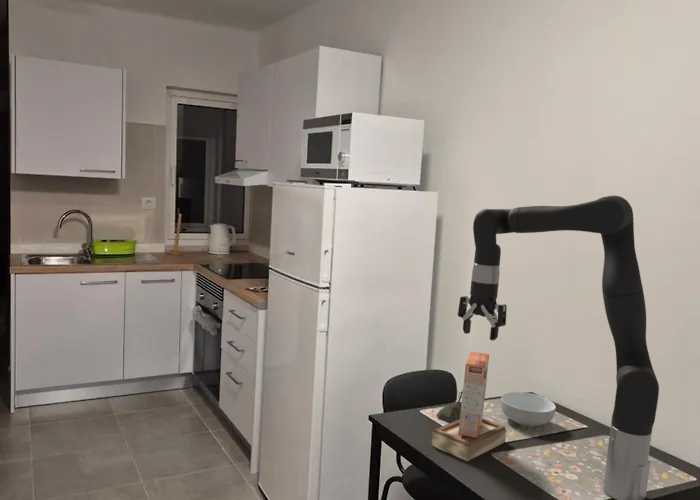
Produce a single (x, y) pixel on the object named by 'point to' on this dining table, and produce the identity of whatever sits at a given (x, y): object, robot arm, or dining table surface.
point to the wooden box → (468, 439)
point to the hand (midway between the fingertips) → (479, 336)
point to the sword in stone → (451, 411)
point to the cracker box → (473, 394)
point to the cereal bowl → (527, 408)
